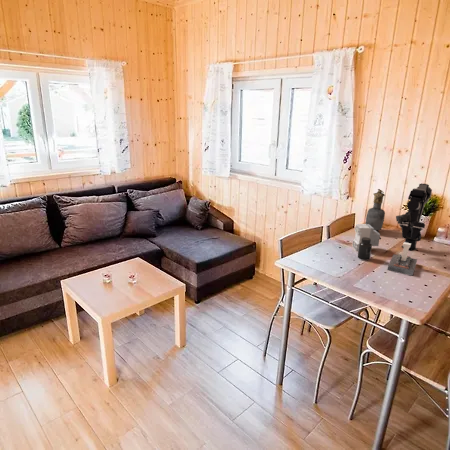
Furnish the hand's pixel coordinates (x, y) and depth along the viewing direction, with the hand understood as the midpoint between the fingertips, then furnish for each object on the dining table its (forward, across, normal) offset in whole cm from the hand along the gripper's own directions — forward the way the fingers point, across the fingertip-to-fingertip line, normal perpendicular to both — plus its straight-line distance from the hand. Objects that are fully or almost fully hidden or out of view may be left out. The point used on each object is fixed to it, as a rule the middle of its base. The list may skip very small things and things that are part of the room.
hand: (407, 238), depth 196 cm
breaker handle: (+12, +8, -3) cm, 15 cm away
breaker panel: (+16, +9, -4) cm, 19 cm away
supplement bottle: (+16, -1, -21) cm, 27 cm away
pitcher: (+1, -48, 0) cm, 48 cm away
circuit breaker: (+12, -14, -16) cm, 24 cm away
